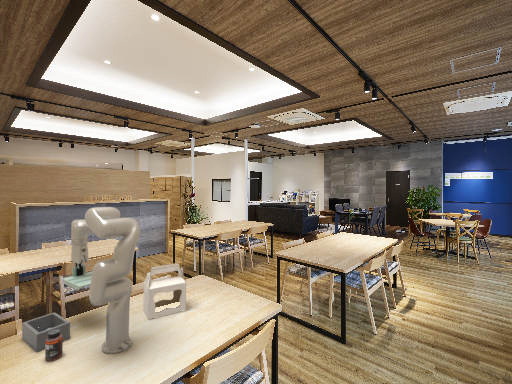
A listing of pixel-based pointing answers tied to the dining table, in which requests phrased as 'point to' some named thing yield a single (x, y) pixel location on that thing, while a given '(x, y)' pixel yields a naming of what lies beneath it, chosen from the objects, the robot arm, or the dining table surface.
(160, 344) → the dining table surface
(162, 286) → the gable box
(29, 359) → the dining table surface
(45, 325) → the tub
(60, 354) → the supplement bottle
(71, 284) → the lid
